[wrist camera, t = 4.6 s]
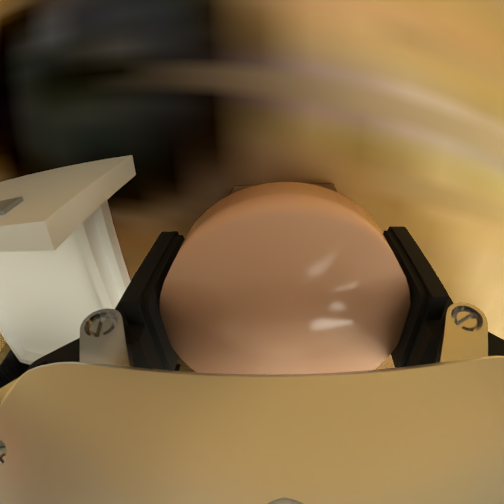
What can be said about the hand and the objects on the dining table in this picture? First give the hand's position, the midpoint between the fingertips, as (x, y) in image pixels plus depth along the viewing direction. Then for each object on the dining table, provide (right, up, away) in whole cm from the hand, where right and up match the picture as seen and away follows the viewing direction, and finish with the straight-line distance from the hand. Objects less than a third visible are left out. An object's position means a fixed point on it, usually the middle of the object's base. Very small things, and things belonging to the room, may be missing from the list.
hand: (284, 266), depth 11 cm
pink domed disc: (0, -1, -1) cm, 1 cm away
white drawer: (-13, -2, +4) cm, 13 cm away
